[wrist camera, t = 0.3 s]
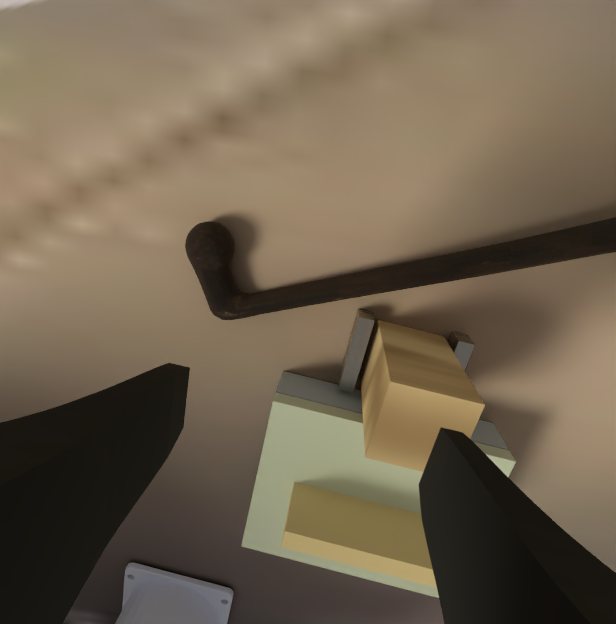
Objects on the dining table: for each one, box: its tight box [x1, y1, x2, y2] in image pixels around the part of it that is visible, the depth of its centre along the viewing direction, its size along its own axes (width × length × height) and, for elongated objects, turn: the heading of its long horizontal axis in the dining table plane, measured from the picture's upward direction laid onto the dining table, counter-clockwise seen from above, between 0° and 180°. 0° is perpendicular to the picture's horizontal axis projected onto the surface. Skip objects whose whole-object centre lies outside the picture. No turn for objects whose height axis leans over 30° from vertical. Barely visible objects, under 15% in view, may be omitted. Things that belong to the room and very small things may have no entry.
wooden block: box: [361, 320, 485, 472], centre depth 17 cm, size 4×4×6 cm
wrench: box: [185, 217, 616, 320], centre depth 16 cm, size 5×5×30 cm
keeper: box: [338, 309, 475, 393], centre depth 20 cm, size 4×6×1 cm
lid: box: [241, 392, 516, 598], centre depth 19 cm, size 10×12×4 cm
